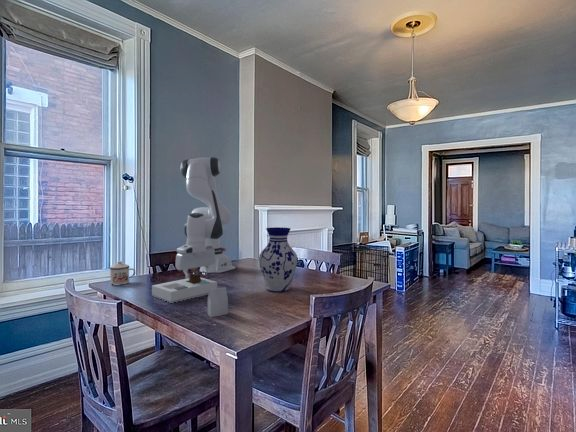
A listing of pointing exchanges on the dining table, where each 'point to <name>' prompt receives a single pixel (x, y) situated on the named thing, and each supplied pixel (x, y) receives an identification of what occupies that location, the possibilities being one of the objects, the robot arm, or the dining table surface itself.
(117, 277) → the teacup with lid
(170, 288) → the socket box
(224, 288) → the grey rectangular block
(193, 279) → the utensil holder
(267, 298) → the dining table surface
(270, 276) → the vase
